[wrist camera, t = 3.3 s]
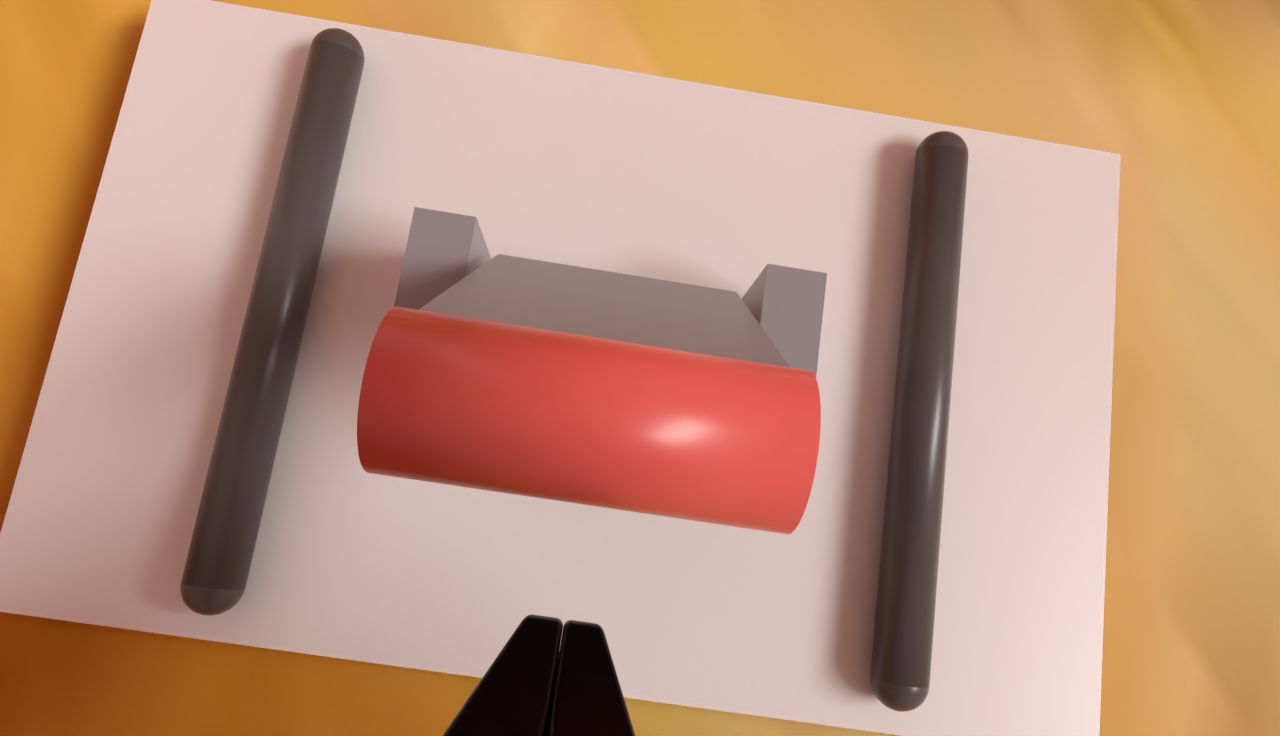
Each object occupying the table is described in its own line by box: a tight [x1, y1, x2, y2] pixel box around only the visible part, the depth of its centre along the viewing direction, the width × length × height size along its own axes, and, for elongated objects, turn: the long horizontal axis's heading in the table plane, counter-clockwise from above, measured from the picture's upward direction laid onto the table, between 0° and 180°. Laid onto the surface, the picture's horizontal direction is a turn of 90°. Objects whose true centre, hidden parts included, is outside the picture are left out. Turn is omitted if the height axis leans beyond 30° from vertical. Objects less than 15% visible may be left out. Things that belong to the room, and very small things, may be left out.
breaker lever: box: [357, 254, 821, 534], centre depth 11 cm, size 2×4×7 cm, turn 82°
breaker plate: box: [0, 0, 1121, 736], centre depth 15 cm, size 12×20×4 cm, turn 82°
